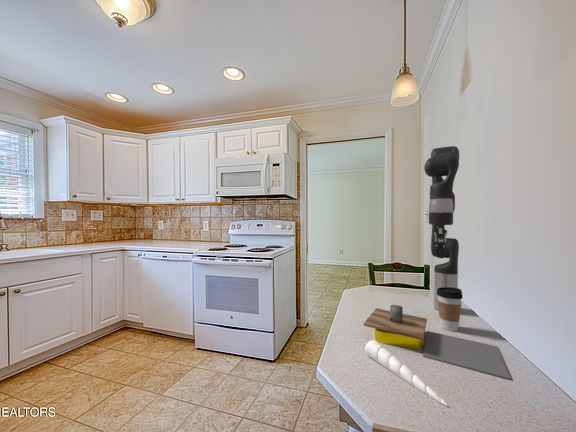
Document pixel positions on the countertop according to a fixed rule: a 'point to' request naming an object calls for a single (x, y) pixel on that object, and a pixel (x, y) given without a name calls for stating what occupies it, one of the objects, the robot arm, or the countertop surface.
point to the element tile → (398, 339)
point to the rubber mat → (465, 354)
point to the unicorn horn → (398, 368)
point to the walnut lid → (397, 322)
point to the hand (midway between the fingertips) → (440, 256)
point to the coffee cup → (449, 307)
